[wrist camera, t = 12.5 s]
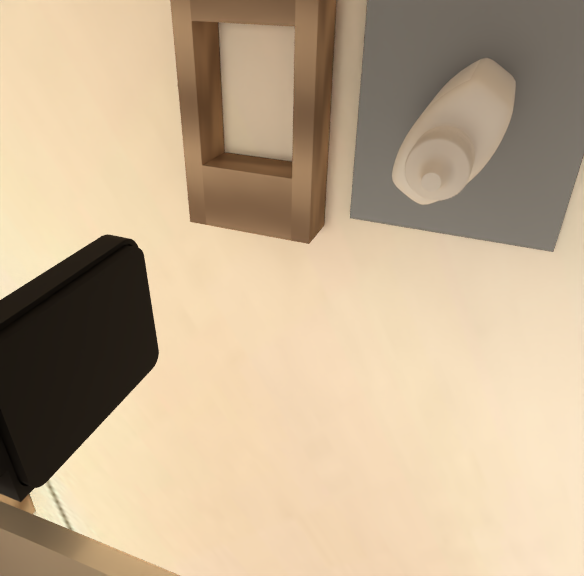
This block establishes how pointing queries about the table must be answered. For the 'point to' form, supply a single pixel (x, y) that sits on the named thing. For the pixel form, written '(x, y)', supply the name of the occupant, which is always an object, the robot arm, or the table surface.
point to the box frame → (19, 503)
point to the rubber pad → (520, 132)
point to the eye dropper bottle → (456, 133)
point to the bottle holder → (209, 120)
